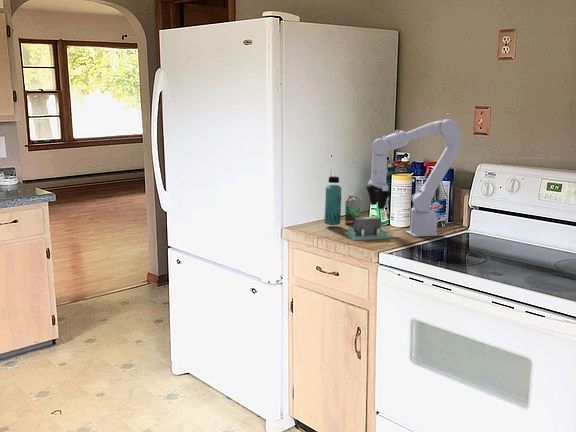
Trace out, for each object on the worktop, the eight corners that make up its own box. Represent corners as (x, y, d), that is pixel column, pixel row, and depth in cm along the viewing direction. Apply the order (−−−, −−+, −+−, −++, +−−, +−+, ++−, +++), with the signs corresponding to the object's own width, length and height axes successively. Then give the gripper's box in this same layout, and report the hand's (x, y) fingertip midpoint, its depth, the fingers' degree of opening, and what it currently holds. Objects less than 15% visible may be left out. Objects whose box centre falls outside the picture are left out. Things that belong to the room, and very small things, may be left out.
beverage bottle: (322, 228, 238) (324, 177, 234) (325, 224, 244) (326, 175, 240) (339, 229, 237) (341, 178, 232) (341, 225, 243) (343, 175, 239)
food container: (360, 226, 242) (361, 201, 240) (344, 225, 243) (345, 200, 241) (362, 219, 254) (363, 195, 252) (348, 218, 255) (348, 195, 253)
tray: (379, 231, 234) (380, 223, 233) (390, 238, 224) (390, 229, 223) (344, 233, 230) (345, 224, 230) (353, 240, 221) (354, 231, 220)
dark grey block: (376, 232, 230) (377, 216, 229) (380, 234, 226) (381, 218, 225) (353, 233, 228) (354, 217, 227) (357, 235, 224) (357, 219, 223)
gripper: (362, 168, 234) (360, 203, 237) (375, 174, 220) (374, 211, 223) (379, 168, 236) (377, 202, 239) (394, 173, 222) (392, 210, 225)
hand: (377, 206), depth 231 cm, fingers open, 7 cm apart
